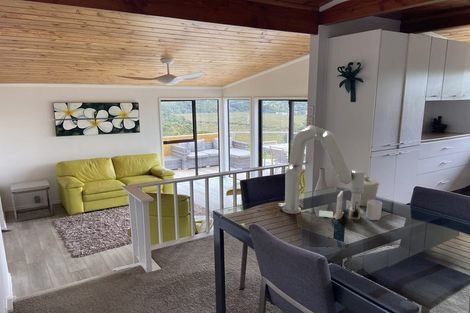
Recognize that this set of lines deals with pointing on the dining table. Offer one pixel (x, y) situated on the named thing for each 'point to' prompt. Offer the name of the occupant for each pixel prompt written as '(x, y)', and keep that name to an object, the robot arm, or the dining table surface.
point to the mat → (325, 214)
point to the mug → (373, 209)
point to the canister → (369, 190)
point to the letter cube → (352, 213)
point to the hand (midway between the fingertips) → (355, 213)
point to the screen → (339, 206)
